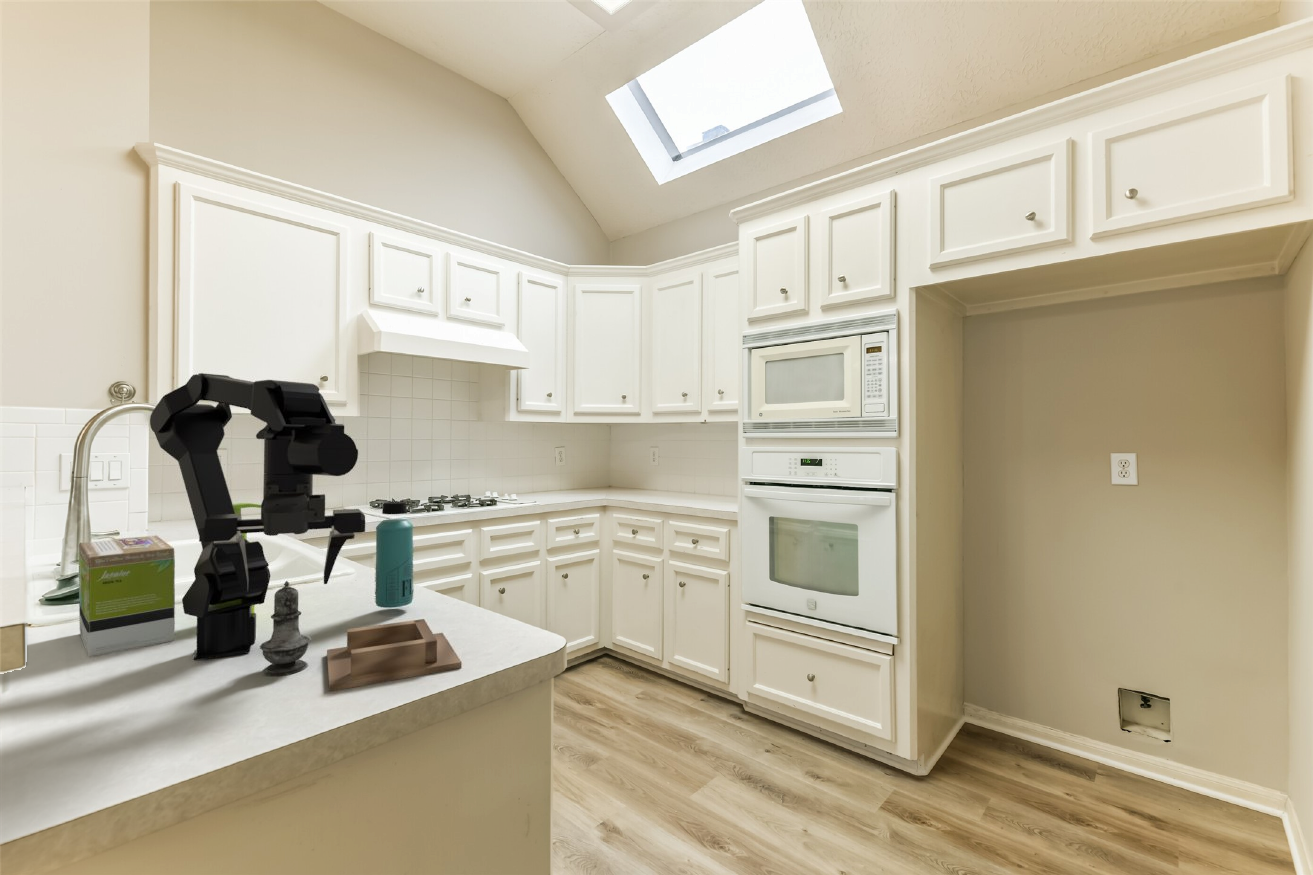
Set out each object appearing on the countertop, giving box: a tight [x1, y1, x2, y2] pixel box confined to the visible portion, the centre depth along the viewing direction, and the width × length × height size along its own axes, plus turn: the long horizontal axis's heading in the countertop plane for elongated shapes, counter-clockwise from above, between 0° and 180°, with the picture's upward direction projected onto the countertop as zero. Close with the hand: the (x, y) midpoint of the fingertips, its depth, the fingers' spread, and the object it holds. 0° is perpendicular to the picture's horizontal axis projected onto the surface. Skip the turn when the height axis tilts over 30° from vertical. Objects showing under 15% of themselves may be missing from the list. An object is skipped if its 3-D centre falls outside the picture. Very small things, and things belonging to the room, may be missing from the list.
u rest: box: [326, 618, 463, 692], centre depth 84 cm, size 16×14×4 cm
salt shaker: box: [259, 580, 311, 678], centre depth 81 cm, size 6×6×12 cm
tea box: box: [78, 534, 176, 658], centre depth 92 cm, size 15×10×15 cm, turn 48°
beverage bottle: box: [374, 500, 415, 609], centre depth 108 cm, size 6×7×20 cm
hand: (286, 587), depth 81 cm, fingers open, 9 cm apart
